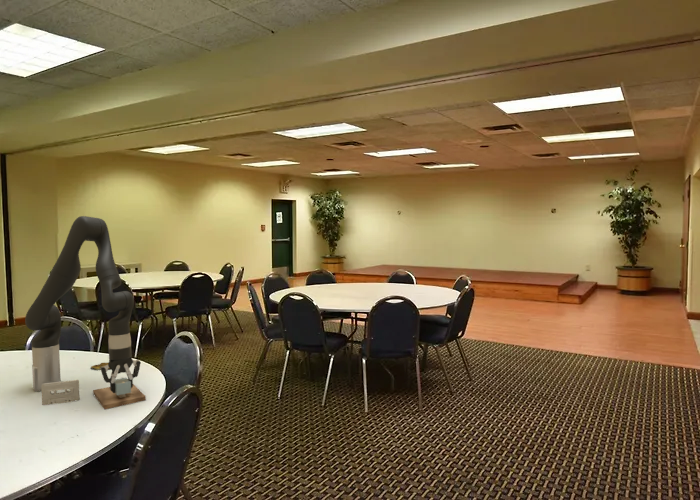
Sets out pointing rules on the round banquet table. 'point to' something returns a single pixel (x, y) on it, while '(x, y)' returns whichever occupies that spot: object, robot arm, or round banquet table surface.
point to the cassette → (60, 397)
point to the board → (118, 397)
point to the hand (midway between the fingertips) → (121, 390)
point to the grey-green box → (122, 386)
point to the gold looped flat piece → (97, 367)
